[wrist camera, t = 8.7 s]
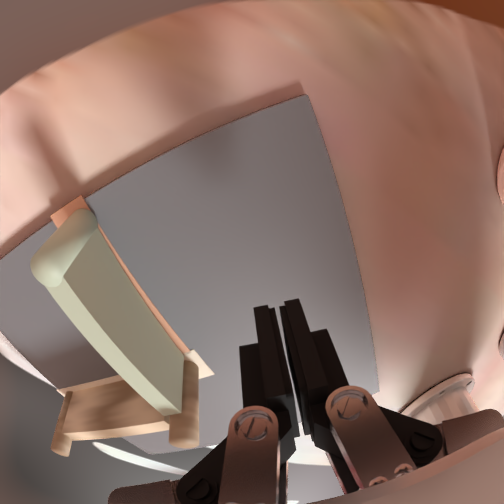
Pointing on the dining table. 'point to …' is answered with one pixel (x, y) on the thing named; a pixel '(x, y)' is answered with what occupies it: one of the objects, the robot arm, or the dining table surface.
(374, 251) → the dining table surface
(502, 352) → the cylinder vase
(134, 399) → the fence fixed
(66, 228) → the bar
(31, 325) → the board
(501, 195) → the water bottle
